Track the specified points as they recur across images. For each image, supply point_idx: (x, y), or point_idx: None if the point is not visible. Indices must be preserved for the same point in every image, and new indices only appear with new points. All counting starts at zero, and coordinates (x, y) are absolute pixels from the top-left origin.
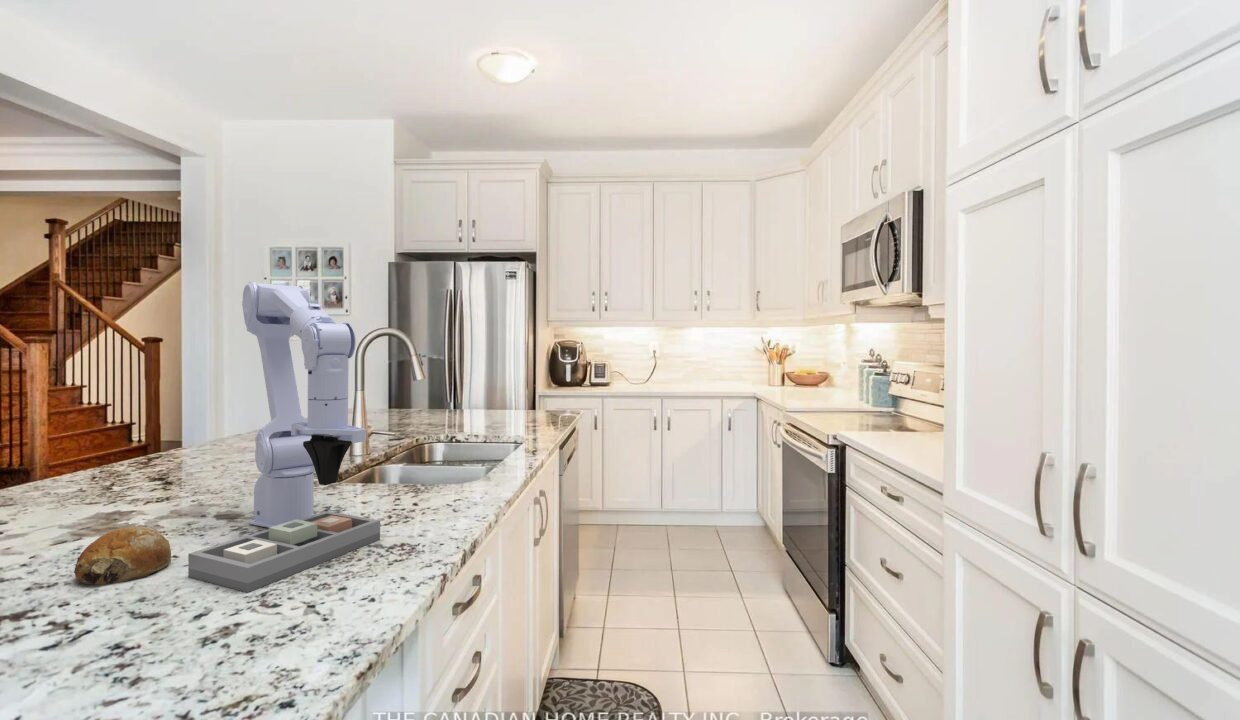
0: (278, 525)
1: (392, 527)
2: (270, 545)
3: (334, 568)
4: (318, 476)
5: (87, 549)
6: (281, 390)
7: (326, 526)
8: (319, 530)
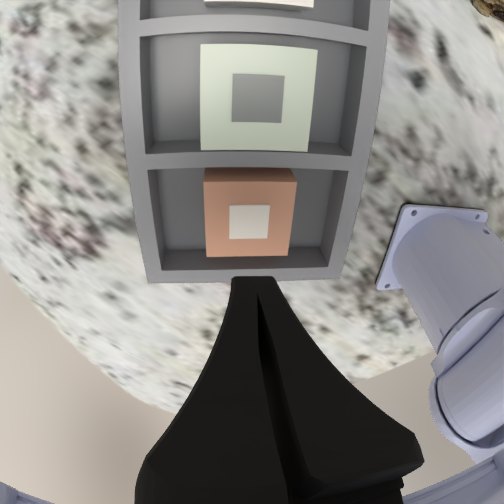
0: (308, 79)
1: (201, 307)
2: None
3: (83, 85)
4: (271, 299)
5: None
6: None
7: (212, 182)
8: (217, 158)
